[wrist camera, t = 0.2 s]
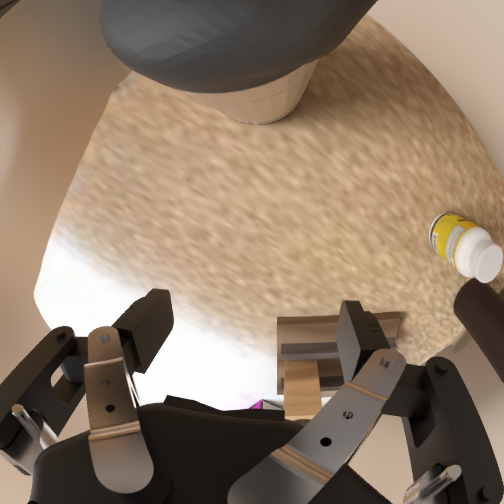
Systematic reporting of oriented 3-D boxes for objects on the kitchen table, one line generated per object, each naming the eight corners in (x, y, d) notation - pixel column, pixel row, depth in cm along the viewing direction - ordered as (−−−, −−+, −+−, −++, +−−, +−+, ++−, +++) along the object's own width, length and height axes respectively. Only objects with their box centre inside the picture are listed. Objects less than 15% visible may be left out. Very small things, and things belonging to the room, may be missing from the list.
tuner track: (277, 317, 33) (276, 335, 30) (397, 311, 31) (406, 327, 28) (277, 387, 38) (276, 404, 35) (375, 381, 37) (380, 397, 33)
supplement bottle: (466, 225, 26) (513, 255, 17) (445, 259, 28) (486, 298, 19) (442, 201, 25) (492, 227, 16) (419, 239, 28) (463, 277, 18)
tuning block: (285, 352, 33) (283, 428, 22) (315, 352, 33) (323, 426, 22) (283, 393, 36) (281, 460, 26) (310, 393, 36) (313, 459, 25)
